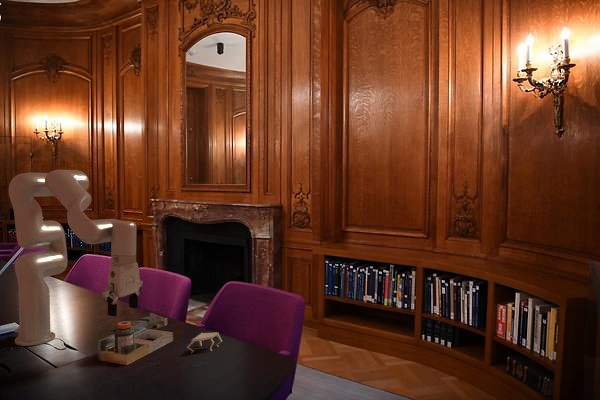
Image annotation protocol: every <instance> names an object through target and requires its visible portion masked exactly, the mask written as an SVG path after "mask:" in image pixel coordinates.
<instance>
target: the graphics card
mask: <svg viewBox="0 0 600 400" xmlns="http://www.w3.org/2000/svg"><path fill="white" fill-rule="evenodd" d="M143 321H147V330H148V329H153V330H156V329H160V328H163V327H165V326H167V325H168V317H164V316H162V315H158V314H155V313H152V312H150V313H149V316H145V317H142V318H141V317H140V318H137V319H133V320H129V322H131V326H134V325H136V324H138V323H141V322H143ZM116 328H117V329H118V323H116Z"/></svg>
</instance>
